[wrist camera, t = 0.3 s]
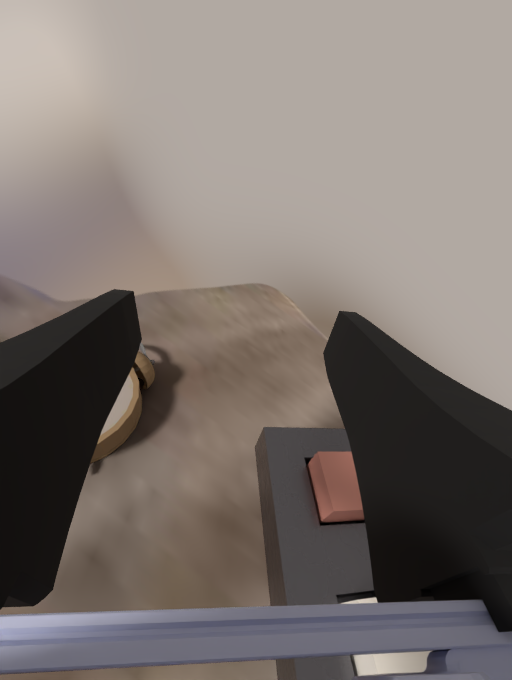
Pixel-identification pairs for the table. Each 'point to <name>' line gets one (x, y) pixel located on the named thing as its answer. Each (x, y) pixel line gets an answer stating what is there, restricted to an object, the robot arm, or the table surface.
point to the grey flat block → (308, 540)
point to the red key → (335, 487)
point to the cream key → (387, 658)
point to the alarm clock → (125, 408)
